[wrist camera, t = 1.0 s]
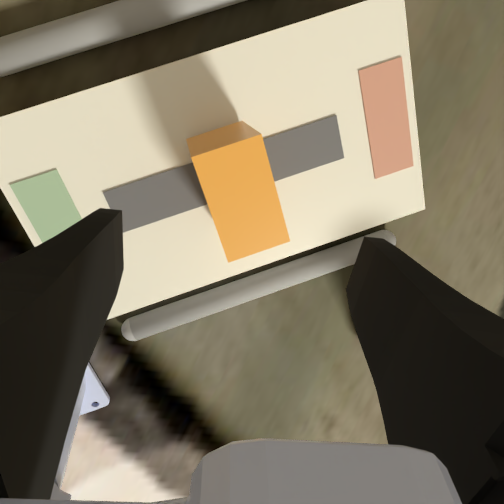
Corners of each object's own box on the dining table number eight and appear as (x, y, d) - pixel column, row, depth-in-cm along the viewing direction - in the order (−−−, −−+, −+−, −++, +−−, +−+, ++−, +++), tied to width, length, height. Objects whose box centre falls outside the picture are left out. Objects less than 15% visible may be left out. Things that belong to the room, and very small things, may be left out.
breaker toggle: (216, 226, 23) (228, 263, 19) (186, 138, 21) (191, 157, 17) (267, 209, 23) (290, 241, 19) (242, 120, 21) (261, 134, 17)
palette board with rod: (128, 335, 29) (126, 349, 27) (-23, 47, 21) (-37, 45, 19) (390, 243, 30) (401, 252, 28) (345, -67, 22) (357, -76, 20)
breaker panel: (90, 302, 27) (81, 329, 24) (-10, 120, 22) (-36, 128, 19) (400, 195, 28) (426, 209, 26) (375, -2, 23) (404, -12, 20)
